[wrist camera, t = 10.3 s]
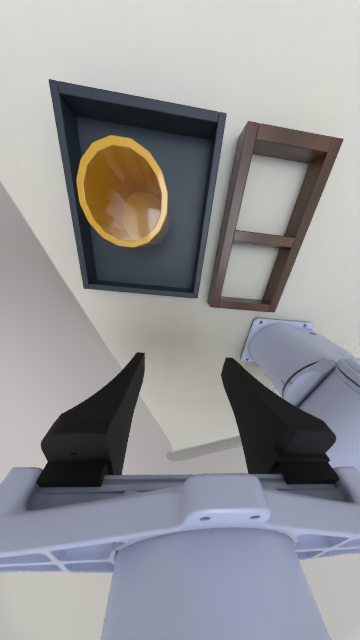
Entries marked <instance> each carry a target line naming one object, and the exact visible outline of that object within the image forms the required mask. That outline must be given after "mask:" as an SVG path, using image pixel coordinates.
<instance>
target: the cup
mask: <svg viewBox="0 0 360 640" xmlns="http://www.w3.org/2000/svg"><path fill="white" fill-rule="evenodd" d="M76 180H77V181H76V182H77V189H78V196H79V202H80V205H81V207H82V209H83V211H84V213H85V215H86V218H87V220H88V222H89V223H90V224H91V225H92V227H93V228H94V229H95V230H96V231H97V232H98V233H99V234H100V235H101V236H102V237H103V238H104V239H106V240H108V241H110V242H112V243H114V244H115V245H118V246H124V247H133V248H150V247H153V246H156V245H158V244H160V243H161V242H162V241H163V240H164V239H165V237H166V235H167V233H168V231H169V228H170V209H169V199H168V191H167V187H166V184H165V180H164V176H163V173H162V170H161V169H160V167H159V166H158V164H157V163H156V161H155V159H154V158H153V156H152V155H151V153H150V152H149V151H148V150H146V149H145V148H144V147H142V146H141V145H140V144H138V143H137V142H135V141H134V140H133V139H131V138H126V137H120V136H114V135H109V136H107V137H105V138H102V139H100V140H97V141H95V142H93V143H92V144H91V145H90V147H89V148H88V150H87V151H86V152H85V154H84V155H83V156H82V158H81V160H80V165H79V170H78V174H77V179H76Z"/></svg>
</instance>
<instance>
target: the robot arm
mask: <svg viewBox="0 0 360 640" xmlns="http://www.w3.org/2000/svg"><path fill="white" fill-rule="evenodd" d="M260 321H261V322H260ZM259 322H260V323H259ZM303 325H304V326H303ZM313 326H314V324H313V323H311V322H299V321H287V320H275V319H262V318H256V319H254V321H253V324H252V326H251V329H250V332H249V335H248V338H247V341H246V344H245V347H244V350H243V353H242V356H241V361H243V362H257V363H258V365H259V366H260V367H261V369H262V370H263V372H264V373H265V374H266V376H267V377H268V378H269V380H270V381H271V383H272V384H273V385H274V387H275V388H276V389H277V391H278V392H279V393H280V395H281V396H282V398H281V397H279V396H278V395H276V394H275V393H274V392H272V391H271V390H269V389H268V388H267V387H265V386H264V385H263V384H261V383H260V382H259V381H258V380H257V379H255V378H254V377H253V376H252V375H251V374H250V373H249V372H247V371H246V370H245V369H244V368H243V367H242V366H241V365H240V364H239V363H238V362H237V361H236V360H235V359H233V358H226V359H225V363H224V366H223V370H222V373H221V377H222V381H223V385H224V388H225V391H226V393H227V396H228V399H229V401H230V404H231V407H232V409H233V412H234V415H235V418H236V422H237V426H238V429H239V433H240V437H241V441H242V445H243V450H244V454H245V459H246V464H247V469H248V474H247V473H217V474H216V473H214V474H213V473H212V474H197V475H122V469H123V463H124V457H125V453H126V448H127V442H128V437H129V432H130V427H131V422H132V417H133V413H134V409H135V405H136V402H137V399H138V396H139V392H140V389H141V386H142V382H143V377H144V371H145V353H139V352H137V353H136V354H135V356H134V357H133V358H132V359H131V361H130V362H129V363H128V364H127V365H126V366H125V368H124V369H123V370H122V371H121V372H120V373H119V374H118V375H117V376H116V377H115V378H114V379H113V380H112V381H110V382H109V383H108V384H107V385H106V386H104V387H103V388H102V389H101V390H99V391H98V392H97V393H95V394H94V395H93V396H91V397H89V398H88V399H86V400H85V401H84V402H82V403H80V404H79V405H77V406H75V407H73V408H72V409H70V410H68V411H66V412H64V413H63V414H61V415H60V416H59V418H58V419H57V420H56V422H54V424H53V425H52V427H51V428H50V430H49V431H48V432H47V434H46V435H45V437H44V438H43V440H42V442H41V448H42V451H43V453H44V455H45V457H46V459H47V461H48V463H47V464H46V466H45V468H44V469H43V470H42V469H40V468H35V467H28V468H13V469H11V471H10V472H9V473H8V475H7V476H6V477H5V479H4V480H3V482H2V483H1V485H0V573H7V572H78V573H80V572H83V573H113V575H112V581H111V586H110V592H109V597H108V602H107V608H106V614H105V618H104V624H103V629H102V635H101V640H331V639H330V636H329V634H328V631H327V629H326V626H325V624H324V621H323V619H322V616H321V614H320V611H319V609H318V606H317V604H316V601H315V599H314V596H313V594H312V591H311V589H310V586H309V584H308V582H307V579H306V576H305V574H304V571H303V569H302V567H301V564H300V562H299V560H306V559H314V558H322V557H330V556H339V555H348V554H359V553H360V359H359V358H355V357H354V356H353V355H352V354H351V353H350V352H348V351H347V350H345V349H343V348H342V347H340V346H338V345H336V344H335V343H333V342H331V341H330V340H328V339H326V338H325V337H323V336H321V335H320V334H318V333H316V332H314V331H313V330H312V328H313Z"/></svg>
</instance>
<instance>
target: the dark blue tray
mask: <svg viewBox="0 0 360 640" xmlns="http://www.w3.org/2000/svg"><path fill="white" fill-rule="evenodd" d="M49 85H50V91H51V97H52V103H53V109H54V115H55V120H56V126H57V132H58V138H59V144H60V150H61V156H62V162H63V168H64V174H65V180H66V186H67V192H68V198H69V204H70V210H71V215H72V221H73V227H74V233H75V239H76V245H77V251H78V257H79V263H80V269H81V275H82V281H83V287H84V289H96V290H107V291H119V292H130V293H141V294H153V295H164V296H175V297H187V298H198V292H199V286H200V279H201V273H202V267H203V260H204V254H205V248H206V241H207V235H208V229H209V222H210V216H211V210H212V203H213V197H214V191H215V184H216V178H217V172H218V165H219V159H220V153H221V146H222V140H223V134H224V127H225V121H226V113H222V112H220V113H219V112H217V111H212V110H206V109H201V108H196V107H191V106H186V105H180V104H175V103H170V102H165V101H159V100H154V99H149V98H144V97H139V96H133V95H128V94H123V93H118V92H112V91H107V90H102V89H97V88H91V87H86V86H81V85H76V84H71V83H65V82H60V81H58V82H57V81H56V80H50V79H49ZM109 135H114V136H120V137H126V138H131V139H133V140H134V141H135V142H137V143H138V144H140V145H141V146H142V147H144V148H145V149H146V150H148V151H149V152H150V153H151V155H152V156H153V158H154V159H155V161H156V163H157V164H158V166H159V167H160V169H161V170H162V173H163V176H164V180H165V184H166V187H167V191H168V199H169V209H170V228H169V231H168V233H167V235H166V237H165V239H164V240H163V241H162V242H161V243H160V244H158V245H156V246H153V247H150V248H133V247H124V246H118V245H115V244H114V243H112V242H110V241H108V240H106V239H104V238H103V237H102V236H101V235H100V234H99V233H98V232H97V231H96V230H95V229H94V228H93V227H92V225H91V224H90V223H89V222H88V220H87V218H86V215H85V213H84V211H83V209H82V207H81V205H80V202H79V196H78V189H77V182H76V181H77V180H76V179H77V174H78V170H79V165H80V160H81V158H82V156H83V155H84V154H85V152H86V151H87V150H88V148H89V147H90V145H91V144H92V143H93V142H95V141H97V140H100V139H102V138H105V137H107V136H109Z"/></svg>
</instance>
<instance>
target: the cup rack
mask: <svg viewBox="0 0 360 640" xmlns="http://www.w3.org/2000/svg"><path fill="white" fill-rule="evenodd" d="M342 142H343V139H341V138H336V137H330V136H324V135H319V134H314V133H308V132H303V131H298V130H293V129H287V128H282V127H277V126H272V125H266V124H261V123H260V124H259V123H256V122H250V121H248V122H247V124H246V126H245V127H244V129H243V131H242V132H241V134H240V136H239V139H238V144H237V149H236V155H235V160H234V165H233V171H232V176H231V181H230V186H229V192H228V197H227V202H226V208H225V213H224V218H223V223H222V229H221V234H220V239H219V244H218V250H217V255H216V260H215V266H214V271H213V276H212V281H211V287H210V292H209V297H208V304H209V305H210V307H216V308H228V309H240V310H252V311H263V312H275V310H276V307H277V305H278V302H279V300H280V297H281V295H282V292H283V290H284V287H285V285H286V282H287V280H288V277H289V275H290V272H291V270H292V267H293V265H294V262H295V260H296V257H297V255H298V252H299V250H300V247H301V245H302V242H303V240H304V237H305V235H306V232H307V230H308V227H309V225H310V222H311V220H312V217H313V215H314V212H315V210H316V207H317V205H318V202H319V200H320V197H321V195H322V192H323V190H324V187H325V184H326V182H327V179H328V177H329V174H330V172H331V169H332V167H333V164H334V162H335V159H336V157H337V154H338V152H339V149H340V147H341V144H342ZM252 153H254V154H260V155H266V156H271V157H277V158H283V159H289V160H295V161H301V162H306V163H310V165H309V168H308V171H307V174H306V176H305V179H304V182H303V185H302V188H301V191H300V194H299V197H298V199H297V202H296V205H295V208H294V211H293V214H292V217H291V219H290V222H289V225H288V228H287V231H286V234H285V236H278V235H270V234H262V233H254V232H246V231H239V230H235V229H236V225H237V220H238V216H239V211H240V207H241V202H242V198H243V193H244V189H245V184H246V180H247V175H248V171H249V166H250V162H251V157H252ZM232 242H237V243H245V244H254V245H262V246H270V247H278V248H280V251H279V254H278V257H277V260H276V262H275V265H274V268H273V271H272V274H271V277H270V280H269V283H268V285H267V288H266V291H265V294H264V297H263V300H252V299H241V298H230V297H220V296H221V292H222V287H223V283H224V278H225V274H226V269H227V265H228V260H229V256H230V251H231V247H232Z"/></svg>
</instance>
